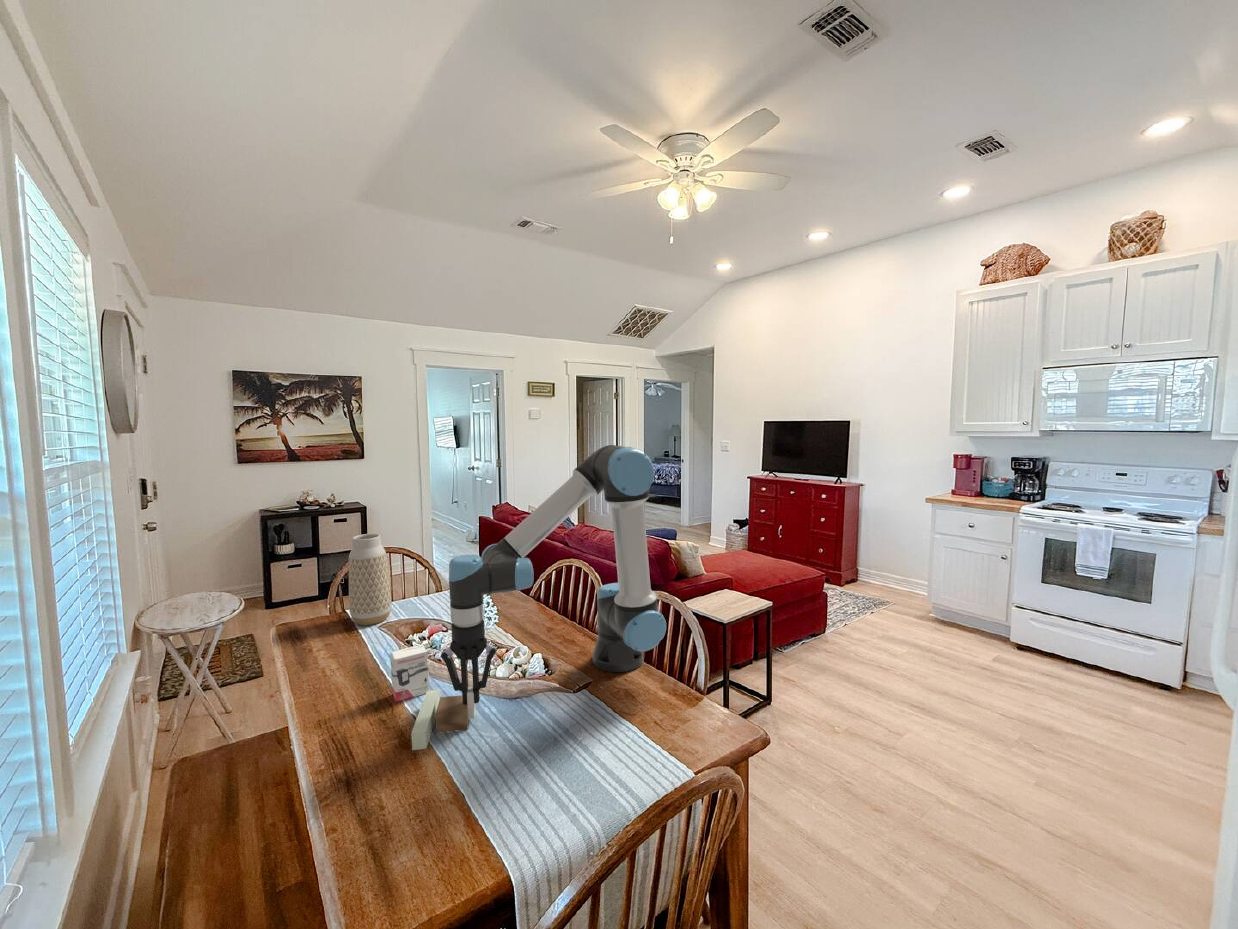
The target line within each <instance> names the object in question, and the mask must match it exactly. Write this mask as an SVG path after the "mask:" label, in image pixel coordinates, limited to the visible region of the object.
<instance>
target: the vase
mask: <svg viewBox="0 0 1238 929" xmlns="http://www.w3.org/2000/svg"><path fill="white" fill-rule="evenodd" d="M351 540H352V541H351V542H352V543H351V544H352V548H351V550H350V552H349V555H348V607H349V612H350V617H351V619H352V621H353V622H354V623H356V624H357V625H360V626H373V625H376V624H377V625H378V624H380V623H383V622H384V621H386V619H387V618H388V617H389V615H390V614H391V611H392V592H391V582H390V574H389V573H390V572H389V566H388V558H387V552H386V549H385V548H384V546H383V544H382V540H381V534H379V533H365V534H358V535H355V536H353V537H352V539H351Z"/></svg>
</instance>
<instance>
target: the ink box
mask: <svg viewBox="0 0 1238 929" xmlns="http://www.w3.org/2000/svg"><path fill="white" fill-rule="evenodd" d="M389 654H390V655H389V656H390V671H391V672H390V674H391V686H392V687H391V689H392V696H393V699H394V700H395V702H396V703H398V702H401V701H405V700H408V699H412V698H414V697H415V698H416V697H419V696H422V695H426V692H427V691H430V680H429V679H430V678H429V662H428V661H429V660H428V650H427V648H426V647H425V646H424V645H423V644H419V645H418V644H417V645H413V646H410V647H406V648H402V649H397V650H394V651H392V652H390V653H389Z"/></svg>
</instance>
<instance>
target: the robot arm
mask: <svg viewBox="0 0 1238 929" xmlns="http://www.w3.org/2000/svg"><path fill="white" fill-rule="evenodd" d="M654 480H655V468H654V464H653V462H652V460H651V458H650V457H649V456H648V455H647V454H646V453H644V451H642V450H639V449H637V448H635V447H631V446H624V445H623V446H621V445H620V446H619V445H616V444H609V445H604V446H602V447H599V448H598V449H597V450H595V451H593V453H591V454H590V455H589V456H588V457H586V459H584V460H583V461H582V462H581V463H580V464H579V465H578V466H577V467H576V468H574V469H573V470H572V475H571V477H569V479H567V480H566V481H565V482H564V483H563V484H562V485H561V486H560V487H559V488H557V489H556V491H554V492H553V493H552V494H551V495H550V496H549V497H548V498H547V499H545V500H544V501H543V502H541V504H540V505H539V506H537V508H535V509H534V510H533V511H531V513H530V514H529V515H528V516H527V517H525V518H524V519H522V521H521V522H520V523H519V524H518V525H517V526H515V527H514V528H513V529H512V530H511V531H510V532H509V533H508V534H507V535H505V537H503V538H502V539H501V540H499V542H497V543H492V544H491V545H490V544H489V545H488V546H487V547H485V549H484V550H483V551H482V553H481V556H480V555H477V554H461V555H458V556H455V557H453V558H452V559H451V560H450V561H449V563H448V564H449V566H448V586H449V588H448V589H449V603H450V606H449V607H450V623H451V625H450V626H451V642H450V644H449V647H447V648H444V649H443V650H442V651H441V654H440V658H441V659H442V660H443V662H444V663H445V665H446V669H447V672H448V675H449V677H450V681H451V684H452V688H453V690H454V691H455V692H457V691H460V692H461V693H462V694H461V695H462V697H463V704H467V705H468V719H471V720H472V719H476V718H475V716H476V704H479V702H480V697H481V696H480V690H481V689H485V688H486V687H487V682H488V679H489V674H490V668H491V664H492V660H493V657H494V656H495V654H496V653H497V649H498V648H497V645H496V644H493V645H492V644H490V643H488V640H487V639H486V633H485V631H486V630H485V620H484V619H485V611H484V610H485V609H484V607H485V606H484V596H486V595H492V594H493V595H494V594H499V593H500V594H501V593H507V592H515V591H517V592H519V591H522V590H525V589H530V588H532V586H533V584H534V576H535V575H534V574H535V573H534V568H533V566H534V565H533V563H532V561H531V559H530V558H528V557H526V556H527V555H528V554H529V553H530V552H532V551H533V549H535V548H536V547H537V546H538V545H539V544H540V543H541V542H542V541H544V539H546V538H547V537H548V536H549V535H550V534H551V533H552V532H554V531H555V529H556V528H558V527H559V526H560V525H561V524H562V523H563V522H564V521H565V520H567V519H568V518H569V516H571V515H572V514H573V513H574V512H575V511H576V510H577V509H579V507H580V506H582V505H583V504H584V503H585V502H586V501H587V500H588V499H589V498H591V497H597V496H598V495H599V494H600V493H601V492H604V501H605V503H607V504H608V505H609V506H610V508H611V517H612V529H613V530H612V531H613V539H614V551H615V562H616V570H617V571H616V572H617V582H612V583H607V584H604V585H601V586H599V588H598V590H597V596H596V601H597V602H596V603H597V604H596V606H597V607H596V608H597V611H596V612H597V638H596V642H595V643H594V648H593V650H592V664H593V665H594V666H595V667H596V668H597V669H598V670H599V669H600V670H602V671H605V672H609V673H625V672H631V671H634V670H636V669H638V668H639V667H641V666H642V665H643V664H644V652H648V651H651V650H652V649H654V648H655V647H657V646H658V645H659V644H660V642H661V640H663V639H664V637H665V635H666V631H667V622H666V619H665V617H664V615H663V614H662V613H661V612H660V611H659V606H658V605H659V604H658V595H657V592H655V591H653V590H652V588H651V587H652V586H651V579H650V578H651V577H650V566H649V565H650V564H649V554H648V553H649V552H648V538H647V529H646V528H647V526H646V515H645V514H646V513H645V502H646V501H648V499H649V497H650V492H649V489H650V488H651V486H652V484H653V482H654ZM484 650H485V653H486V659H485V663H484V664H485V665H484V668H483V672H482V676H481V677H482V678H481V680H480V673H479V668H480V667H479V658H480V656H481V655H482V653H484ZM453 654H454V655H455V656H456V658H457V659H458V660H460V661H459V662H460V663H459V664H460V675H461V676H460V677H461V678H460V677H459V674H458V670H457V667H456V664H455V662H454V658H453ZM468 661H471V668H472V669H471V674H472V686H469V672H468Z"/></svg>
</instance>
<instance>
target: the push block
mask: <svg viewBox="0 0 1238 929" xmlns="http://www.w3.org/2000/svg"><path fill="white" fill-rule="evenodd" d="M435 714H436V719H435V729H436V734H441V733H448V732H447V731H452V732H456V731H455V730H461V731H468V729H469V725H468V724H470V720H469V719H468V705H467V704H463V697H462V694H461V695H449V696H442V697H441V696H440V700H439V704H438V707H437V710H436V713H435ZM440 732H441V733H440Z"/></svg>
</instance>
